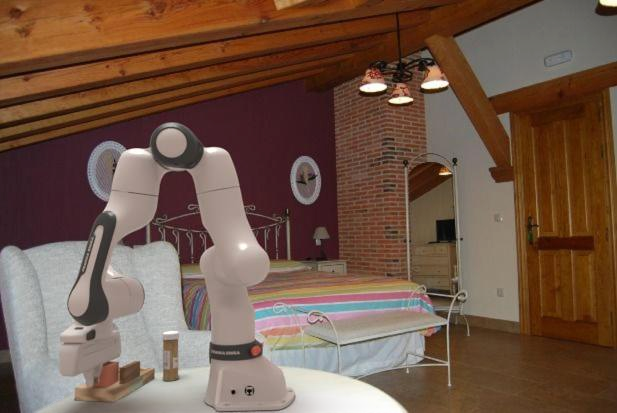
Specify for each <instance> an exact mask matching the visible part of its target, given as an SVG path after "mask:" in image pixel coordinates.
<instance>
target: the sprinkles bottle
mask: <svg viewBox="0 0 617 413" xmlns="http://www.w3.org/2000/svg"><path fill="white" fill-rule="evenodd" d="M179 339H180V333H179V331H177V330H169V331H163V333H162V345H163V346H162V380H163V381H165V382H173V381H176V380H178V379H179Z"/></svg>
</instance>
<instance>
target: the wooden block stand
mask: <svg viewBox="0 0 617 413" xmlns="http://www.w3.org/2000/svg"><path fill="white" fill-rule="evenodd" d="M155 370H156V369H155V367H141V360H134V361H131V362H129V363H128V364H126V365H123V366H119V380H118V382H116V383H114V384H112V385H110V386H108V387H101V386H92V387H87V386H86V382H85V383H82V384H81V385H78V386H76V387H74V401H85V402H88V401H89V402H107V403H110V402H111V403H115V402H117V401H118V400H120V399H122V398H123V396H124V397H125V396H127V395H129V394H130V393H132V392H133V390H134V391H135V389H136V390H137V389H139V388H141V387H142V385H143V386H144V385H146V384H148V383H149V382H151V381H153V380H154V379H155V378H156V376H155ZM140 386H141V387H140ZM138 387H139V388H138ZM131 391H132V392H131ZM128 393H129V394H128Z"/></svg>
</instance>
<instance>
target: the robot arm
mask: <svg viewBox="0 0 617 413" xmlns="http://www.w3.org/2000/svg"><path fill="white" fill-rule="evenodd" d="M116 164H117V165H116V166H115V171H114V175H113V179H112V183H111V188H110V189H111V190H110V195H109V199H108V202H107V203H106V206H105V207H104V210H103V211H102V212H101V213H100V214H99V215H97V217H96V218H95V220H94V222H93V224H92V227H91V230H90V233H89V237H88V238H87V239H88V240H87V243H86V247H85V249H84V253H83V256H82V260H81V263H80V267H79V270H78V272H77V277H76V279H75V282H74V284H73V286H72V287H71V290H70V292H69V293H68V298H67V302H66V303H67V310H68V311H67V312H68V313H69V315H70V316H71V317H72V319H73V320H74V323H72V324H71V325H70V326H69V327H68V328H66V329H65V330H64V331H63V332H61V333H60V334H59V342H60V343H62V344H61V346H60V349H59V354H58V355H59V356H58V360H59V362H58V368H59V370H58V371H59V373H60V375H61V377H69V378H70V377H71V378H72V377H74V378H75V377H76V376H79V375H81V374H82V375H83V377H84V379H85V383H86V386H87V387H92V386H94V385H96V384H98V383H99V376H100V374H101V371H102V369H103V364H104V363H107V362H112V361H113V360H115V359H118V358H120V356H121V354H122V339H121V338H122V337H121V333H120V331H119V326H117V324H116V323H115V322H114V320H117V319H120V318H124V317H129V316H132V315H134V314H137V313H138V312H140V311H141V309H142V308H143V306H144V304H145V300H146V299H145V298H146V295H145V289H144V287H143V284H142V283H141V282H140V281H139V280H138V279H136V278H133V277H129V276H127V275H123V274H121V273H120V272H118V271H116V270H115V269H114V268H113V266H112V265H110V262H111V260H112V259H111V258H112V256H113V252H114V249H115V248H116V245H117V244H118V242H120V241H121V240H122V239H123V238H125V237H126V236H127V235H129V234H131V233H133V232H136V231H138V230H141V229H142V228H144V227H146V226H147V225H148V224H149V223H150V222H152V221H153V219H154V217H155V214H156V212H157V208H158V202H159V201H158V200H159V196H160V195H159V193H160V185H161V181H162V179H163V177H164V175H169V174H174V173H175V174H177V173H182V172H183V173H184V172H186V171H187V172H188V173H189V174H190V175H191V176H192V180H193V183H194V188H195V193H196V198H197V203H198V207H199V212H200V218H201V222H202V225H203V227H204V228H205V229H206V231H207V232H208V235H209V236H210V238H211V241H212V243H213V245H212V246H210V247H208V248H207V249H206V250H204V252H203V253H202V255H201V256H200V260H199V269H200V271H201V274H202V275H203V277H204V278H203V279H204V281H205V286H206V292H207V296H208V301H209V307H210V341H209V344H208V345H209V348H208V358H209V359H208V362H209V374H208V376H209V377H208V383H207V388H206V392H205V396H204V399H203V400H204V403H205V404H206V405H208V406H211V407H213V408H214V409H215V411H217V412H241V411H242V412H243V411H244V412H245V411H246V412H247V411H276V410H277V411H278V410H282V409H285V408H287V407H288V406H290V405H291V404H292V403H293V401H294V399H295V398H296V394H295V390H294V389H293V388H291V387H288V386H287V383H286V377H285V374H284V372H283V370H282V368H280V367H279V366H277V365H276V364H275V363H274V362H272V361H271V360H270V359H268V358H267V357H266V356H265V355H263V354H264V352H263V351H264V350H263V349H264V341H262V342H260V341H259V340H257V339H256V311H255V306H254V305H253V303H252V301H251V300H250V297H249V293H248V289H247V288H248V287H252V286H255V285H258V284H260V283H262V282H263V281H265V279H266V278H267V277H268V274H269V272H270V267H271V262H270V257H269V255H268V253H267V252H266V251H265V250H264V248H263V247H262V246H261V245H260V244H259V243H258V242H259V241H258V240H257V238H256V236H255V234H254V232H253V229H252V227H251V225H250V222H249V221H248V218H247V214H246V210H245V206H244V201H243V197H242V196H243V195H242V190H241V188H240V182H239V178H238V174H237V170H236V167H235V165H234V162H233V160H232V157H231V155H230V153H229V152H228V151H227V150H225V149H224V148H222V147H218V146H217V147H216V146H211V147H205V146H204V144H203V143H202V142H201V141H200V139H198V137H197V135H195V134H194V132H193V131H192V130H191V129H190V128H189V127H187V126H185V125H184V124H181V123H179V122H165V123H162V124H161V125H159V126H158V127H157V128H155V130H154V131H153V132H152V134H151V137H150V140H149V147H148V148H138V147H137V148H135V147H134V148H130V149H127V150H125V151H123V152H122V153H121V155H120V156H119V159H118V162H117V163H116Z"/></svg>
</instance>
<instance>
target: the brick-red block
mask: <svg viewBox="0 0 617 413" xmlns="http://www.w3.org/2000/svg"><path fill="white" fill-rule="evenodd" d="M119 367H120V361H109V362H107V363H104V364H103V369H102V371H101V374H100V376H99V383H98V384H96V385H94V386H101V387H108V386H110V385H112V384H114V383H116V382H118V380H119Z"/></svg>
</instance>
